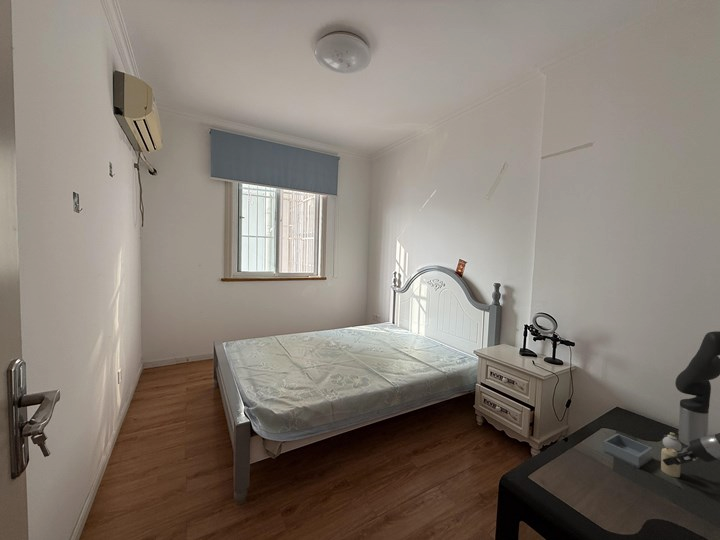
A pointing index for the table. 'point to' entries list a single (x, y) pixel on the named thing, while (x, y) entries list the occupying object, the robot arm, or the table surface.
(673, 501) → the table surface
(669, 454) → the candle
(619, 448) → the tray
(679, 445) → the ornament
